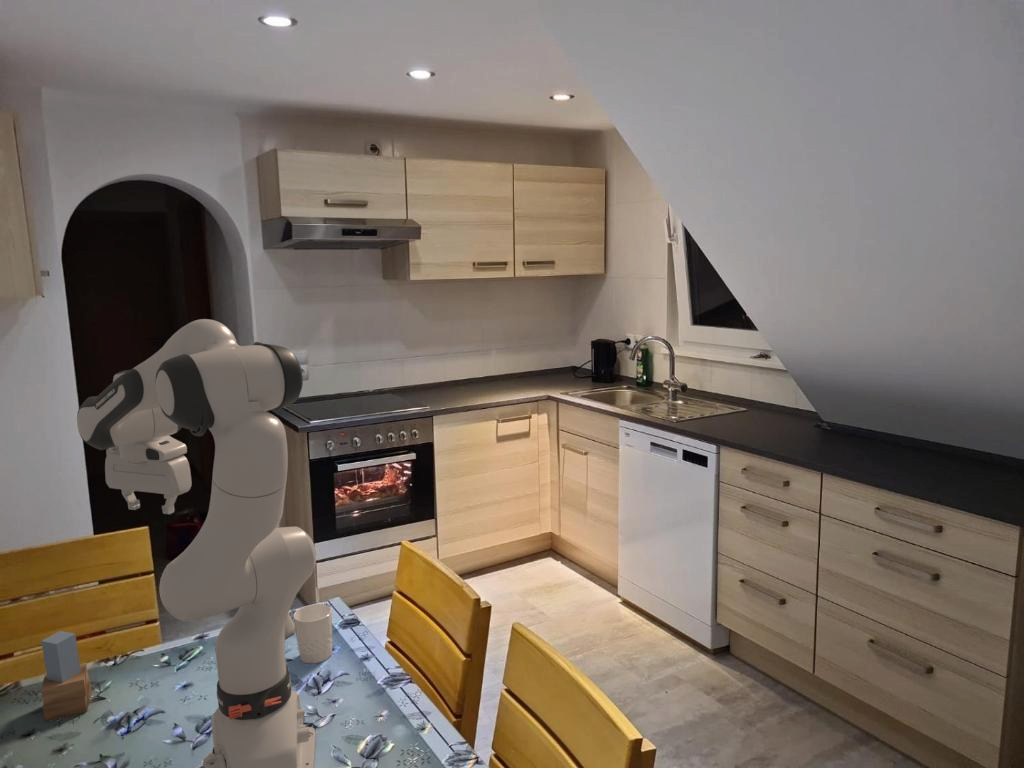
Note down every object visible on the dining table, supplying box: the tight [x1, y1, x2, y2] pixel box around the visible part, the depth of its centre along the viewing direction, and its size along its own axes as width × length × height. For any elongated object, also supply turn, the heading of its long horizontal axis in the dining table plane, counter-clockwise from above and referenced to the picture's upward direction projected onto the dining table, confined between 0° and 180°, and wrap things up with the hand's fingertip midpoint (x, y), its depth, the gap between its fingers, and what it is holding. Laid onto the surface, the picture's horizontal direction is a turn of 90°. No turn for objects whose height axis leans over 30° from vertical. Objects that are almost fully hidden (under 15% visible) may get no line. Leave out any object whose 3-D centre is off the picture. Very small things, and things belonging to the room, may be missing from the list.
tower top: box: [40, 662, 90, 707], centre depth 146 cm, size 7×7×4 cm
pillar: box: [41, 630, 81, 683], centre depth 145 cm, size 4×4×8 cm
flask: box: [285, 612, 296, 639], centre depth 172 cm, size 7×7×10 cm
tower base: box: [42, 678, 93, 723], centre depth 147 cm, size 7×7×4 cm
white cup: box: [293, 603, 333, 664], centre depth 162 cm, size 8×8×10 cm
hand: (151, 511), depth 156 cm, fingers open, 8 cm apart
